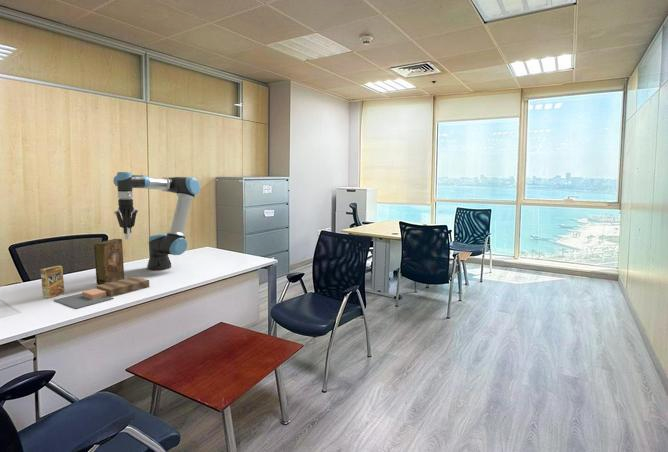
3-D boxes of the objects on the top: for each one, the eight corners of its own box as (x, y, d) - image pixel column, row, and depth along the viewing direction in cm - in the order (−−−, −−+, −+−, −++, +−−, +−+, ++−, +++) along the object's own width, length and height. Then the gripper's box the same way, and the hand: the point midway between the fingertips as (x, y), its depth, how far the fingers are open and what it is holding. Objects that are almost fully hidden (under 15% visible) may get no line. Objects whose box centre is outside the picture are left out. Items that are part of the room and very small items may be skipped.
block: (96, 292, 210) (95, 288, 210) (106, 296, 205) (106, 291, 205) (82, 296, 204) (82, 291, 204) (92, 299, 199) (92, 294, 199)
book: (118, 278, 239) (115, 238, 236) (125, 279, 238) (123, 239, 235) (96, 286, 224) (93, 243, 220) (105, 286, 222) (102, 243, 219)
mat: (90, 291, 213) (90, 290, 213) (113, 299, 202) (113, 298, 202) (53, 300, 198) (53, 299, 198) (76, 309, 187) (76, 308, 187)
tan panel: (135, 283, 231) (134, 276, 230) (149, 287, 224) (149, 280, 223) (96, 292, 212) (96, 285, 212) (111, 297, 205) (110, 289, 204)
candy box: (47, 298, 201) (45, 269, 199) (42, 297, 203) (39, 268, 200) (65, 293, 209) (62, 266, 207) (59, 292, 211) (57, 265, 209)
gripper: (118, 199, 217) (120, 241, 220) (140, 198, 228) (142, 238, 231) (110, 199, 221) (113, 239, 224) (132, 197, 232) (134, 236, 235)
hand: (127, 238), depth 228 cm, fingers closed
